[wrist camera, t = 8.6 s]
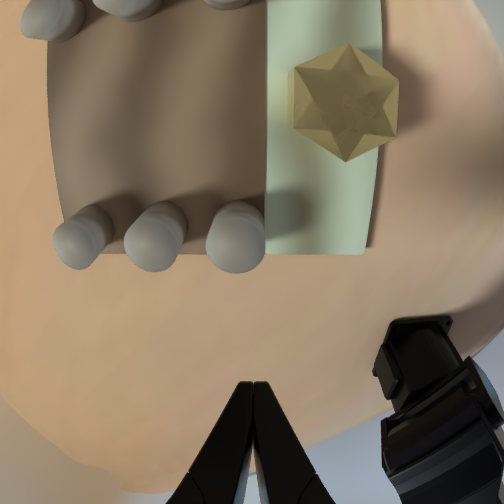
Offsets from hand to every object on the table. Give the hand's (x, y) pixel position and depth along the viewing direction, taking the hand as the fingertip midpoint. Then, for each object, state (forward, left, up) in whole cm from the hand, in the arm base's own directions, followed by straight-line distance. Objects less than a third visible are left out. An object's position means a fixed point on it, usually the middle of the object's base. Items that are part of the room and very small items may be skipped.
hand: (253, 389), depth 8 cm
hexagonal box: (-4, -8, -11) cm, 14 cm away
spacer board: (+3, -7, -12) cm, 14 cm away
